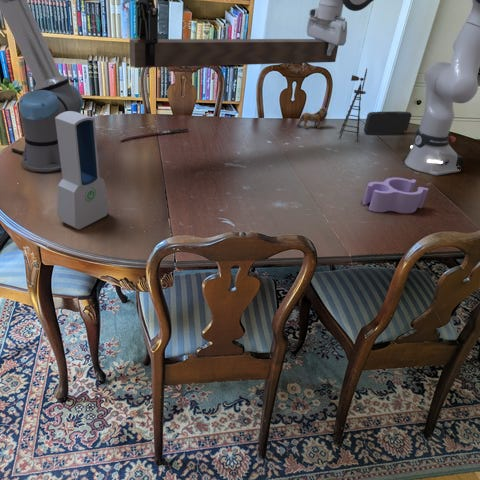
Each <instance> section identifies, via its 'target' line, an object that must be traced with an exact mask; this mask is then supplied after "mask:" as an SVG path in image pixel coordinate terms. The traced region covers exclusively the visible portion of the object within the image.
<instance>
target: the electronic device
mask: <svg viewBox="0 0 480 480" xmlns="http://www.w3.org/2000/svg"><path fill="white" fill-rule="evenodd" d="M55 122H56V130H57V138H58V146H59V154H60V162H61V170H60V171H61V177H62V178H61V180H60V181H59V183H58V185H57V200H56V202H57V203H56V215H57V217H58V219H59V221H61V222H62V223H64V224H66V225H67V226H70V227H72V228H74V229H77V230H79V231H80V230H82V229H83V228H85V227H87V226H88V225H89V226H90V225H91V224H93V223H95V222H97V221H99V220H100V219H103V218H104V217H106V216H107V215H108V214H109V211H110V208H109V207H110V206H109V202H108V195H107V190H106V183H105V179H104V178H102V177H100V168H99V167H100V166H99V156H98V155H99V154H98V142H97V131H96V129H97V128H96V118H94V117H92V116H90V115H86V114H83V113H81V112H80V113H78V112H74V111H66V112H63V113H61V114H59V115H58V116H57V117H55Z"/></svg>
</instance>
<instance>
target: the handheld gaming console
mask: <svg viewBox="0 0 480 480" xmlns="http://www.w3.org/2000/svg"><path fill="white" fill-rule="evenodd" d="M412 116H413V115H412V112H410V111H401V110H399V111H398V110H397V111H394V110H393V111H370V112H368V113H367V115H366V119H365V123H364V127H363V132H364V133H365V134H366V135H392V134H394V135H395V134H405V133H406V132H407V131H408V129H409V126H410V121H411V119H412ZM404 131H406V132H404Z"/></svg>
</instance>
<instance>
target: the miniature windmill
mask: <svg viewBox="0 0 480 480" xmlns="http://www.w3.org/2000/svg"><path fill="white" fill-rule="evenodd" d="M367 74H368V68H366V69H365V72H364V76H363V77H359V76H357V75H354V74H352V75H351V79H350V81H353V82H358V81H360V84H359V85H358V88H357V89H354V90H353V94H355V95H354V96H353V97H354V98H353V99H352V100H351V104H350V106H349V109H348V111H347V114H346V115H345V119H344V120H343V124H342V125H341V128H340V131H339V134H340V135H339V139H342V137H343V134H344V132H348V133H354V134H356V142H358V141H359V134H360V122H361V117H360V116H361V101H362V95H366V94H367V93H366V92H367V91H366V90H365V91H364V86H365V82H366V78H367ZM356 100H357V101H358V105H355V102H356ZM352 110H355V111H358V113H357V115H356V114H355V115H354V114H351V112H352ZM350 117H356V118H357V119H355V118H350ZM348 120H350V121H357V123H356V124H357V125H356V126H354V125H347V123H348ZM346 127H348V128H355V129H356V131H353V130H347V129H346Z"/></svg>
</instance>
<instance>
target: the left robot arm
mask: <svg viewBox="0 0 480 480" xmlns="http://www.w3.org/2000/svg"><path fill="white" fill-rule="evenodd" d="M135 9H136V36H137V37H138V39H147V42H145V44H146V66H155V44H156V43H158V39H159V28H158V27H159V23H158V22H159V18H158V17H159V7H156V5H155V0H138V1H135ZM0 12H1V14H2V17H3V19H4V21H5V22H6V24H7V27H8V28H9V30H10V33H11V35H12V37H13V39H14V41H15V43H16V45H17V47H18V49H19V51H20V53H21V55H22V57H23V59H24V61H25V63H26V65H27V68H28V69H29V72H30V73H31V76H32V77H33V79H34V82H35V85H34V88H33V91H28V92H25V93H24V94H22V95H21V96H20V98H19V100H18V105H19V106H18V111H19V114H20V119H21V125H22V132H23V137H24V148H23V150H19V149H16V148H12V147H11V151H12V152H15V153H16V154H20V155H22V158H21V159H22V160H21V161H22V166H23V168H24V169H25V170H27V171H29V172H33V173H39V174H46V173H56V172H61V171H62V170H61V162H60V154H59V146H58V138H57V130H56V122H55V117H57V116H58V115H59V114H61V113H63V112H66V111H74V112H78V113H81V112H82V110H83V106H84V101H83V96H82V93H81V91H80V90H79V89H78V88H77V87H76V86H74V85H73V84H71V83H70V82H69V79H68V77H67V76H65V75H63V74H61V72H60V70H59V68H58V65H57V64H56V61H55V60H54V57H53V54H52V53H51V50H50V49H49V48H50V47H49V46H48V44H47V42H46V40H45V38H44V35H43V33H42V31H41V29H40V27H39V24H38V22H37V19H36V18H35V15H34V13H33V11H32V9H31V7H30V5H29V2H28V0H0Z"/></svg>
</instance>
